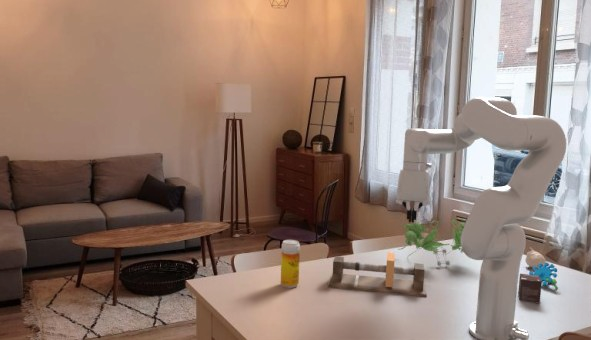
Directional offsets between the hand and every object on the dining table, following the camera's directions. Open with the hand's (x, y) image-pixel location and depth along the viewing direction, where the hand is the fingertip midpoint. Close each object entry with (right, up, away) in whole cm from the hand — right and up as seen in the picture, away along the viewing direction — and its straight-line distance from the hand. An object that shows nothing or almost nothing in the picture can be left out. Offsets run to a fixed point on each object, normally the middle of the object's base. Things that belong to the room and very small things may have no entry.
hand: (411, 221), depth 165 cm
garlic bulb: (+54, -21, +28) cm, 65 cm away
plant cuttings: (+17, -20, +31) cm, 41 cm away
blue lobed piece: (+49, -24, +10) cm, 55 cm away
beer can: (-40, -22, +3) cm, 46 cm away
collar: (-6, -21, +4) cm, 22 cm away
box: (+37, -25, -3) cm, 45 cm away
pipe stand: (-10, -22, +5) cm, 25 cm away
